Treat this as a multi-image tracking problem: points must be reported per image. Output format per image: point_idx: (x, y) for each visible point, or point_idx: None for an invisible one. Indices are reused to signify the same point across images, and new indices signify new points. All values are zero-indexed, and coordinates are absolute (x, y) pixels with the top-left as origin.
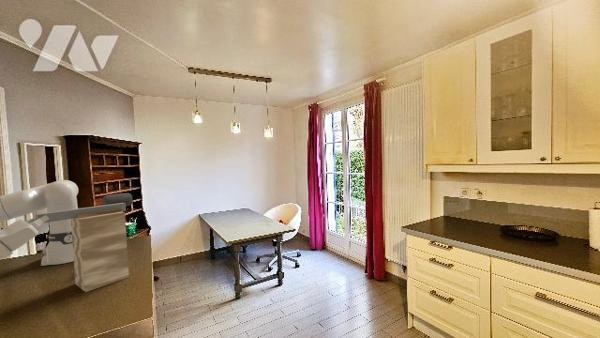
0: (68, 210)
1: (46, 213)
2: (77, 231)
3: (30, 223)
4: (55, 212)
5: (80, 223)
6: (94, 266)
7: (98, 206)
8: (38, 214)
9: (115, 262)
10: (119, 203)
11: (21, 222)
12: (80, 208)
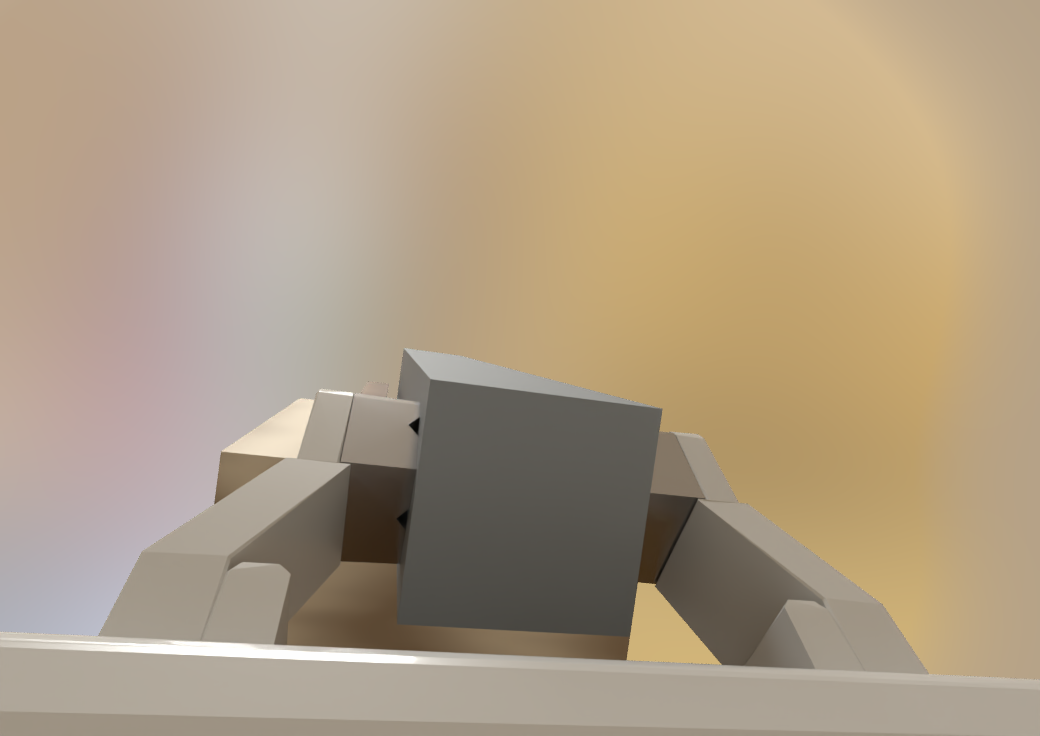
0: (502, 370)
1: (583, 391)
2: (488, 645)
3: (873, 667)
4: (572, 385)
5: None
6: None
7: (452, 357)
8: (619, 402)
9: None
10: (418, 350)
11: (363, 728)
12: (429, 357)
